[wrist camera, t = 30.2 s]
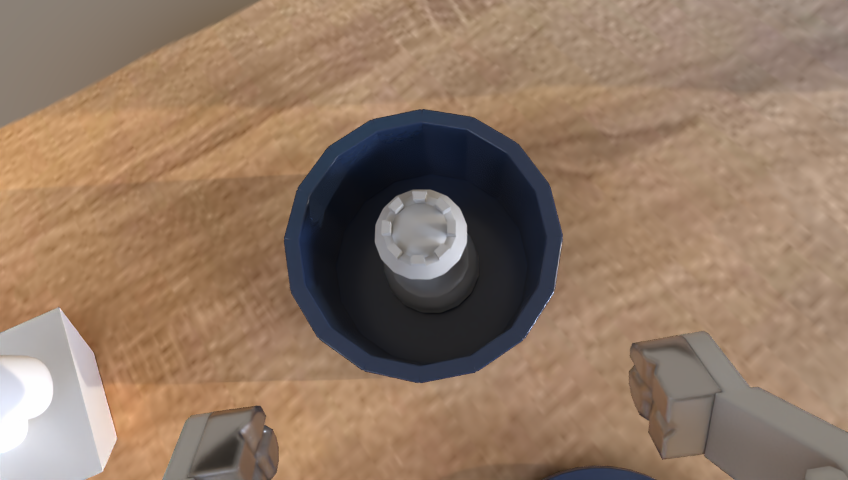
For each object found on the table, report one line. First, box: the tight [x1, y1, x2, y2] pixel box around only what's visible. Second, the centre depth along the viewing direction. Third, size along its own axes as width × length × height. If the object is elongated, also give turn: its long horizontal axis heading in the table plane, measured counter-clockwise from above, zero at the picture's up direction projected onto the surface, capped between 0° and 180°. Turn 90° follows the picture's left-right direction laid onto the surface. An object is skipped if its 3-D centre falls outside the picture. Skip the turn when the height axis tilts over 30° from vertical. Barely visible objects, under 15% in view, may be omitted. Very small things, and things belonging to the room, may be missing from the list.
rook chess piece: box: [375, 190, 479, 313], centre depth 22 cm, size 4×4×8 cm
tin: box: [284, 109, 563, 383], centre depth 23 cm, size 10×10×6 cm
